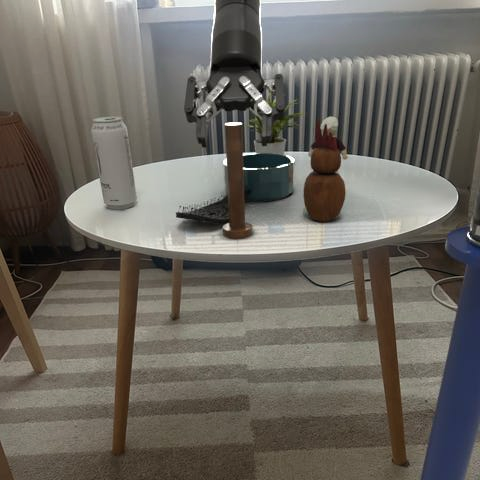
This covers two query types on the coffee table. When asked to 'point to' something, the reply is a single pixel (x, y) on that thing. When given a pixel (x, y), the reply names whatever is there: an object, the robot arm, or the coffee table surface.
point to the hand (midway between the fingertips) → (234, 143)
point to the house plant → (273, 131)
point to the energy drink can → (114, 162)
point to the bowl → (266, 176)
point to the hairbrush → (210, 211)
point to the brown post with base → (235, 184)
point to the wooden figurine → (324, 179)
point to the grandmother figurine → (332, 127)
